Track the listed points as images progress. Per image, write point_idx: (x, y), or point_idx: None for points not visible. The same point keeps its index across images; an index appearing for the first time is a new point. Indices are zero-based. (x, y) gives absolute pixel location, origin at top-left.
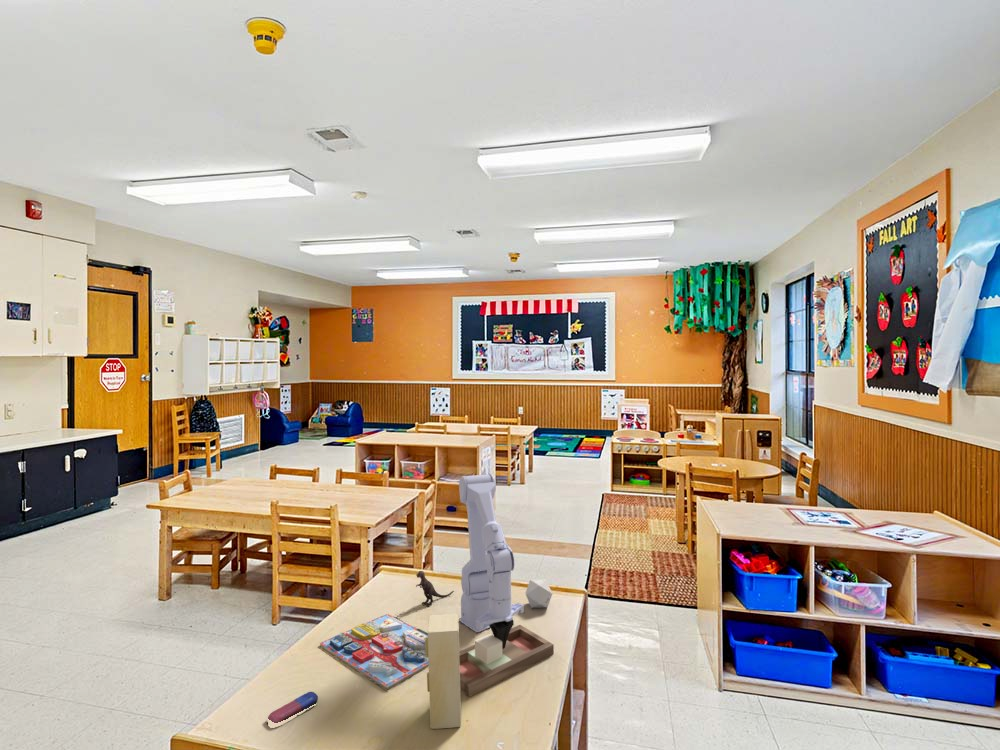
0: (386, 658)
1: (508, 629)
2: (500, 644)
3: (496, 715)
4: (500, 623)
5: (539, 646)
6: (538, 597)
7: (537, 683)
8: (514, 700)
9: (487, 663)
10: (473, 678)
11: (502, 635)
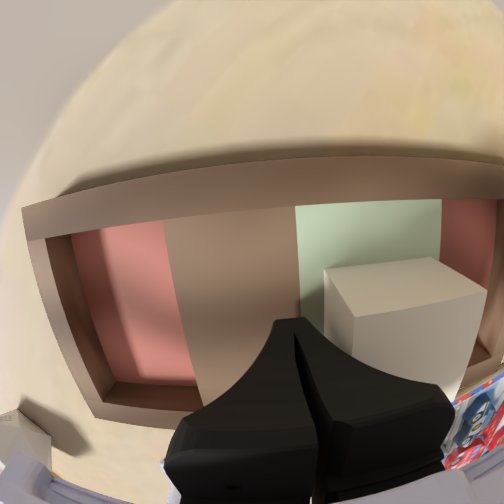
0: (493, 424)
1: (264, 395)
2: (368, 305)
3: (470, 36)
4: (366, 478)
5: (72, 231)
6: (17, 441)
7: (245, 39)
8: (397, 29)
9: (428, 258)
10: (462, 245)
11: (338, 366)
